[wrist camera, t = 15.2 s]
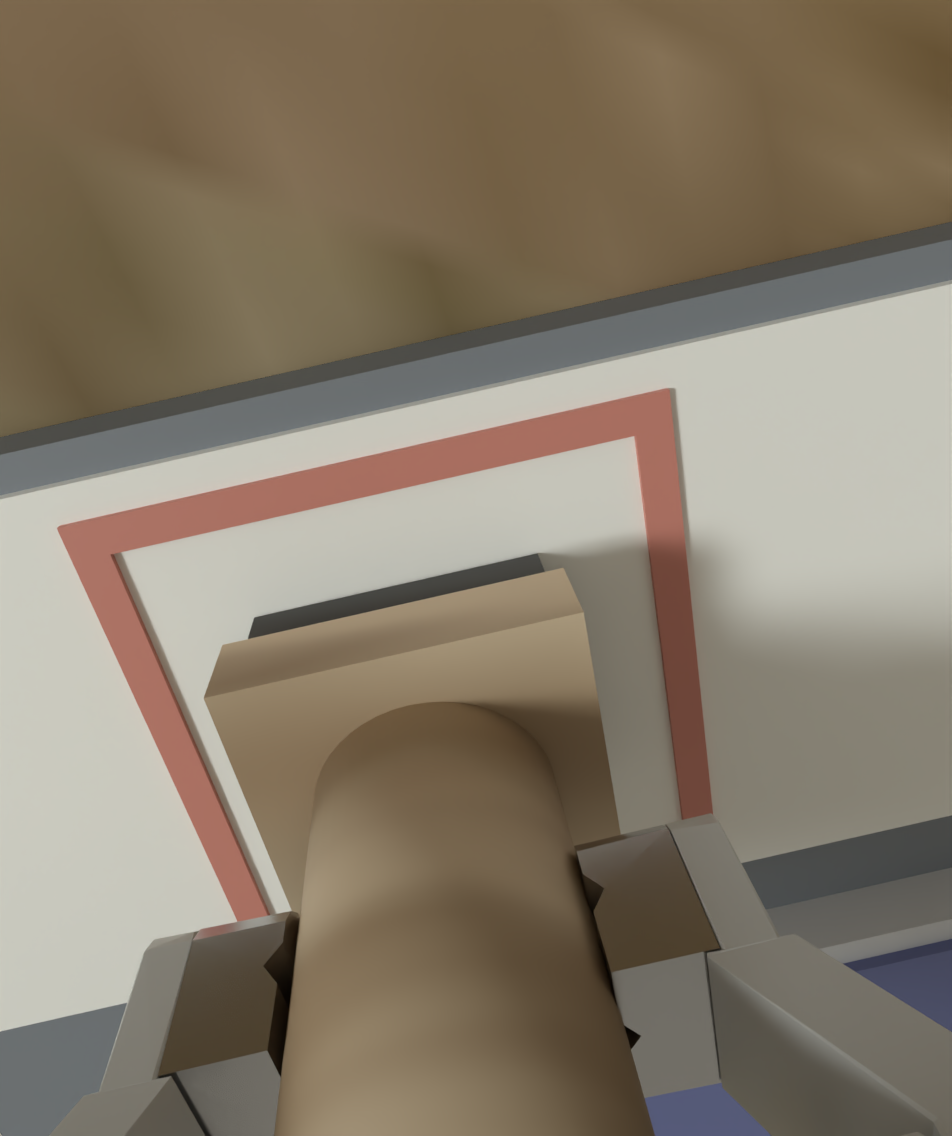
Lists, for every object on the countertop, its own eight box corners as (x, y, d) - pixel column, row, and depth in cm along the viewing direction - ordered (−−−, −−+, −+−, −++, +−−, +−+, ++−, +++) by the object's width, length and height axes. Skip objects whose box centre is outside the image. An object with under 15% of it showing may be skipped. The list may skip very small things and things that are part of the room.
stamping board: (971, 1086, 20) (1042, 1195, 18) (162, 1270, 20) (136, 1402, 18) (1051, 199, 12) (1204, 203, 9) (-358, 518, 12) (-531, 596, 9)
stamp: (593, 784, 13) (839, 1502, 6) (324, 845, 13) (249, 1636, 6) (549, 537, 11) (828, 1149, 4) (235, 608, 11) (-25, 1346, 4)
